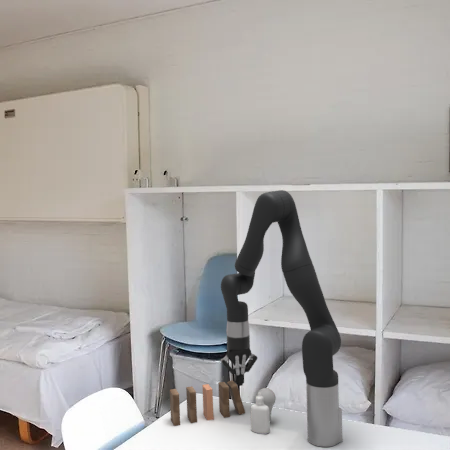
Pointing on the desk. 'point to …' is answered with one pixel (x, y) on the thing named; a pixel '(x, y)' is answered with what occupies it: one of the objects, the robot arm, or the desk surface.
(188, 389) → the domino
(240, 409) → the domino
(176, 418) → the domino
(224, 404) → the domino
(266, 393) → the lightbulb
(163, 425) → the desk surface
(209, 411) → the domino
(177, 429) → the desk surface
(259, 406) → the eye dropper bottle
